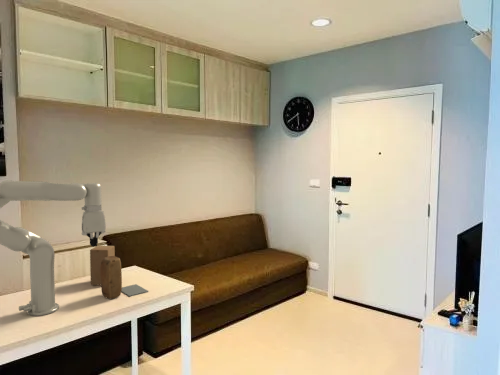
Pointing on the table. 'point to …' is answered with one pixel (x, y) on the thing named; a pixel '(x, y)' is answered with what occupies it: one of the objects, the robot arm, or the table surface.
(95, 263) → the wooden block
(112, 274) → the block
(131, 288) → the mat
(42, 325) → the table surface
